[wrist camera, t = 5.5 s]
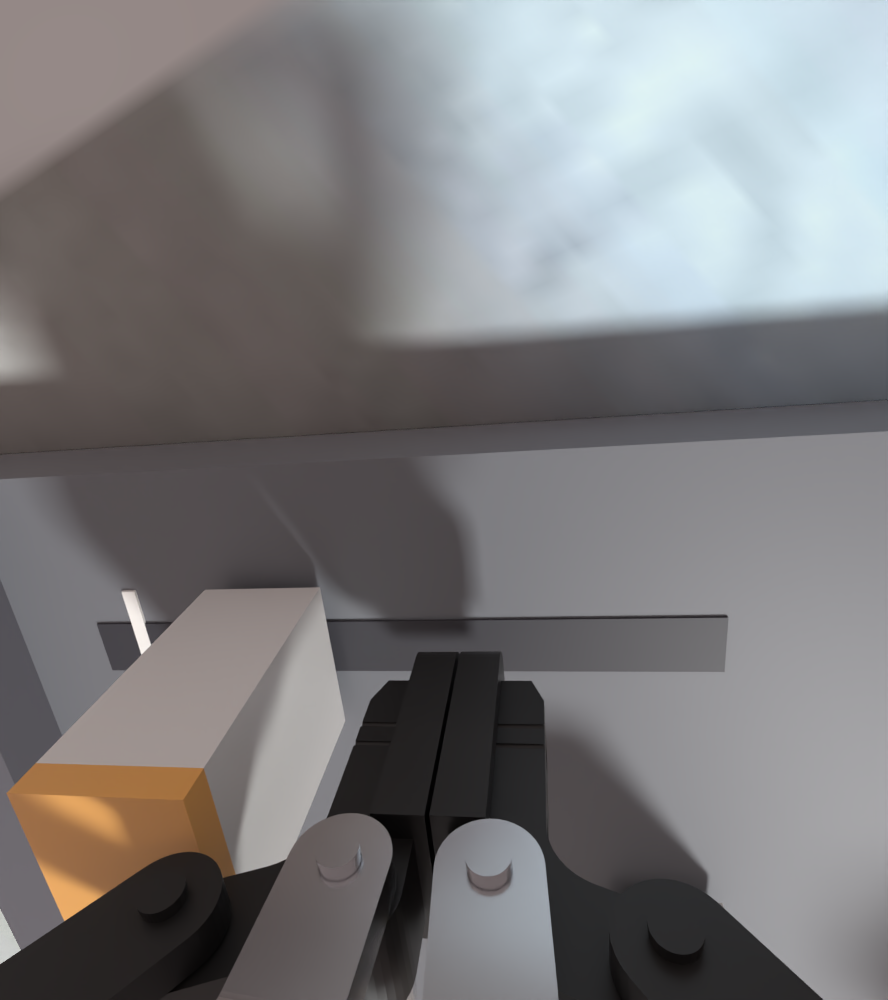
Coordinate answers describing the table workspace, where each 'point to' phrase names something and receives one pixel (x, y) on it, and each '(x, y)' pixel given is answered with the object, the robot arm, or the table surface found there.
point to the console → (527, 629)
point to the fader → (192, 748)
